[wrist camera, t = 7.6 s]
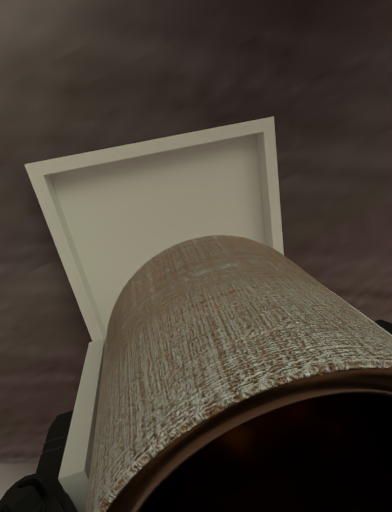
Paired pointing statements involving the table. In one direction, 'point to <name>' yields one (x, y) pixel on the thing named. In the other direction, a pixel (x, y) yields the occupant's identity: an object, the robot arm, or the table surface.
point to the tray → (155, 204)
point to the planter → (240, 390)
